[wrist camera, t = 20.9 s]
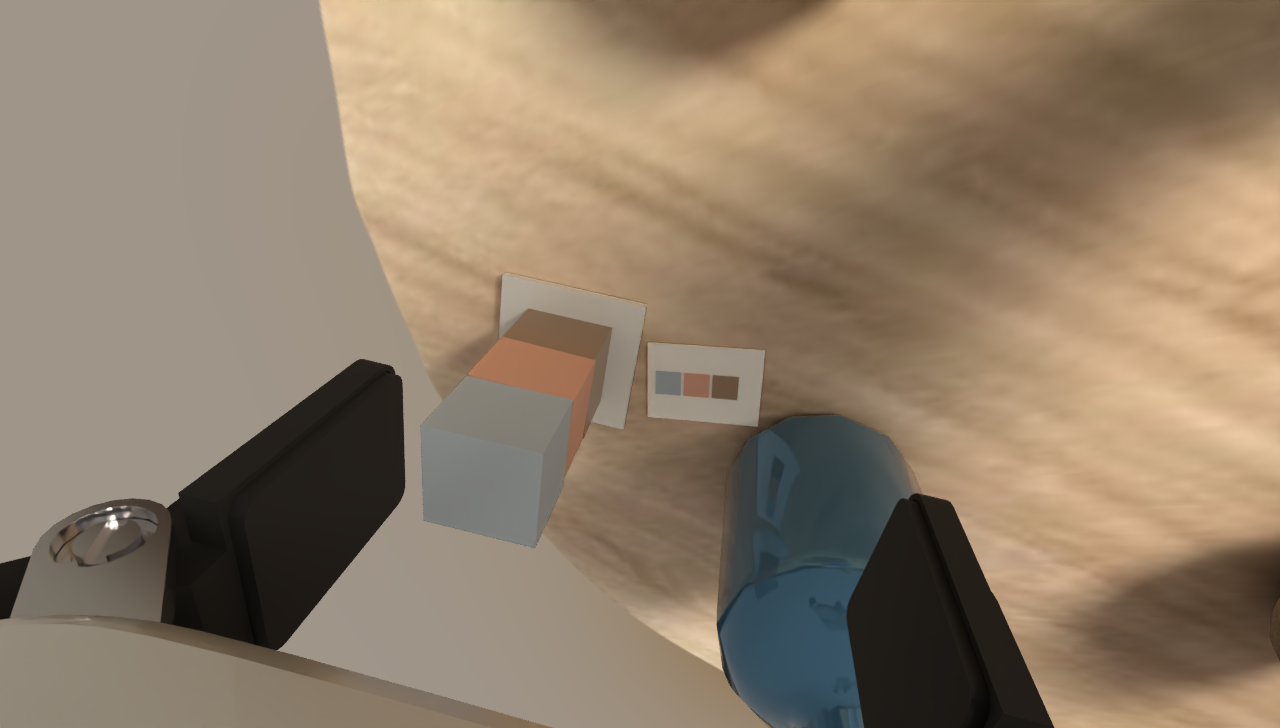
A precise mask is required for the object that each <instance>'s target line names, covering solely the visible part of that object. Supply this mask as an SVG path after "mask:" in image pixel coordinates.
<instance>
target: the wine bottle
mask: <svg viewBox="0 0 1280 728" xmlns="http://www.w3.org/2000/svg"><path fill="white" fill-rule="evenodd" d="M914 493H919V494H922V492H921V489H920V487H919V484H918V481H917V479H916V476H915V474H914V472H913V470H912V469H911V467H910V466H909V465H908V463H907V462H906V460H905V459H904V458H903V456H902V455H901V453H900V452H899V451H898V449H897V448H896V446H895V445H894V443H893V442H892V441H891V439H890V438H889V437H888V436H886V435H885V434H883V433H881V432H878V431H876V430H874V429H872V428H869V427H867V426H865V425H862V424H860V423H858V422H855V421H853V420H851V419H849V418H846V417H844V416H842V415H839V414H836V415H808V416H790V417H788V418H786V419H784V420H782V421H781V422H779V423H777V424H775V425H773V426H771V427H769V428H767V429H765V430H763V431H762V432H760V433H758V434H756V435H754V436H752V437H751V438H750V439H749V440H748V441H747V442H746V444H745V445H744V447H743V449H742V450H741V452H740V454H739V455H738V457H737V459H736V460H735V462H734V464H733V465H732V467H731V469H730V470H729V472H728V474H727V476H726V490H725V504H724V518H723V533H722V547H721V561H720V575H719V589H718V603H717V631H718V638H719V646H720V654H721V661H722V668H723V671H724V673H725V676H726V678H727V680H728V683H729V685H730V686H731V688H732V689H733V691H734V692H735V693H736V694H737V695H738V696H739V697H740V698H741V699H742V700H743V701H744V702H745V703H746V704H747V705H748V707H749V708H750V709H751V710H752V711H753V712H754V713H755V714H756V715H757V716H758V717H759V718H760V719H761V720H762V721H763V722H764V723H765V724H766V725H767V726H768V728H864V725H863V719H862V713H861V706H860V700H859V694H858V688H857V682H856V676H855V669H854V663H853V657H852V651H851V645H850V639H849V633H848V626H847V618H846V615H847V606H848V602H849V600H850V597H851V595H852V593H853V591H854V589H855V587H856V585H857V583H858V581H859V579H860V577H861V575H862V573H863V571H864V569H865V567H866V565H867V563H868V561H869V559H870V557H871V555H872V553H873V551H874V549H875V547H876V545H877V542H878V540H879V538H880V536H881V534H882V532H883V530H884V528H885V526H886V524H887V522H888V520H889V518H890V516H891V514H892V512H893V510H894V508H895V506H896V504H897V502H898V501H899V500H900V499H902V498H904V499H909V497H910V496H911V495H912V494H914Z"/></svg>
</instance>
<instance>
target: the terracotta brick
mask: <svg viewBox="0 0 1280 728" xmlns="http://www.w3.org/2000/svg"><path fill="white" fill-rule="evenodd" d="M595 363H596V360H593V359H589V358H585V357H581V356H577V355H573V354H569V353H565V352H561V351H557V350H553V349H549V348H546V347H542V346H538V345H534V344H530V343H526V342H522V341H518V340H514V339H510V338H506V337H501V338H500V339H499V341H498V342H497V343H496V344H495V345H494V346H493V347H492V348H491V349H490V350H489V351H488V352H487V353H486V354H485V356H484V357H483V358H482V359H481V360H480V361H479V362H478V363H477V364H476V365H475V366H474V367H473V368H472V370H471V371H470V372H469V373H468V374H467V376H470V377H474V378H479V379H483V380H488V381H492V382H496V383H501V384H505V385H510V386H514V387H519V388H523V389H528V390H532V391H537V392H541V393H546V394H550V395H555V396H559V397H564V398H568V399H572V400H573V404H572V413H571V422H570V431H569V440H568V449H567V458H566V467H565V476H566V473H567V471H568V469H569V467H570V465H571V463H572V460H573V458H574V456H575V454H576V452H577V450H578V447H579V445H580V443H581V441H582V438H583V433H584V427H585V421H586V415H587V409H588V403H589V398H590V392H591V386H592V380H593V374H594V369H595ZM565 476H564V478H565Z"/></svg>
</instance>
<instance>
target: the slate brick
mask: <svg viewBox="0 0 1280 728" xmlns="http://www.w3.org/2000/svg"><path fill="white" fill-rule="evenodd" d="M572 404H573V400H572V399H568V398H564V397H559V396H555V395H550V394H546V393H541V392H537V391H532V390H528V389H523V388H519V387H514V386H510V385H505V384H501V383H496V382H492V381H488V380H483V379H479V378H474V377H470V376H466V377H465V378H464V379H463V380H462V381H461V382H460V383H459V384H458V385H457V386H456V388H455V389H454V390H453V391H452V392H451V393H450V394H449V395H448V396H447V397H446V398H445V399H444V400H443V402H442V403H441V404H440V405H439V406H438V407H437V408H436V409H435V410H434V411H433V412H432V413H431V414H430V416H429V417H428V418H427V419H426V420H425V421H424V422H423V423H422V424H421V451H422V453H421V454H422V482H423V483H422V484H423V511H424V512H423V514H424V521H427V522H432V523H436V524H440V525H444V526H448V527H452V528H456V529H460V530H464V531H468V532H472V533H476V534H480V535H484V536H488V537H492V538H496V539H500V540H504V541H509V542H512V543H516V544H520V545H525V546H529V547H533V548H535V547H536V545H537V543H538V541H539V538H540V536H541V534H542V532H543V530H544V528H545V525H546V523H547V521H548V519H549V517H550V514H551V512H552V510H553V508H554V506H555V503H556V501H557V499H558V497H559V495H560V493H561V490H562V488H563V485H564V476H565V467H566V458H567V449H568V440H569V431H570V422H571V413H572Z"/></svg>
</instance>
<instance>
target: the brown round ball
mask: <svg viewBox="0 0 1280 728" xmlns="http://www.w3.org/2000/svg"><path fill="white" fill-rule="evenodd" d="M1270 637H1271V642H1272V645H1273V647H1274V649H1275V651H1276V653H1277V656H1278V658H1279V660H1280V598H1279V599H1278V601H1277V602H1276V604H1275V606H1274V609H1273V611H1272V616H1271V622H1270Z"/></svg>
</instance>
